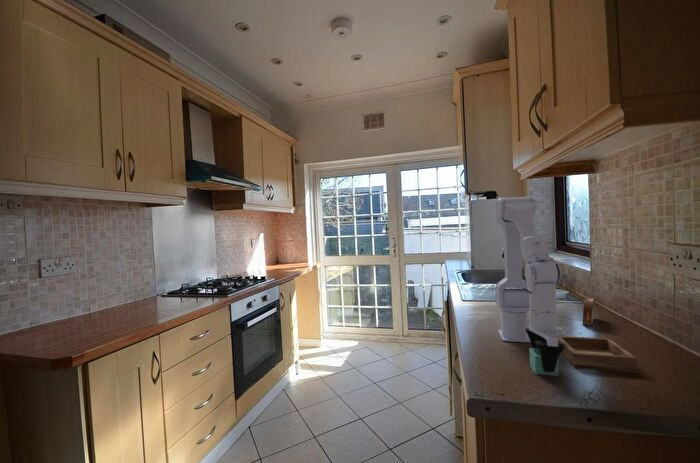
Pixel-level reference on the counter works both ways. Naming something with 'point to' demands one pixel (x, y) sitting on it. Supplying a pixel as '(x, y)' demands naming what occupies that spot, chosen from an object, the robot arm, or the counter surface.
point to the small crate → (540, 363)
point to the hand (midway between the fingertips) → (543, 364)
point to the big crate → (597, 354)
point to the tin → (588, 311)
